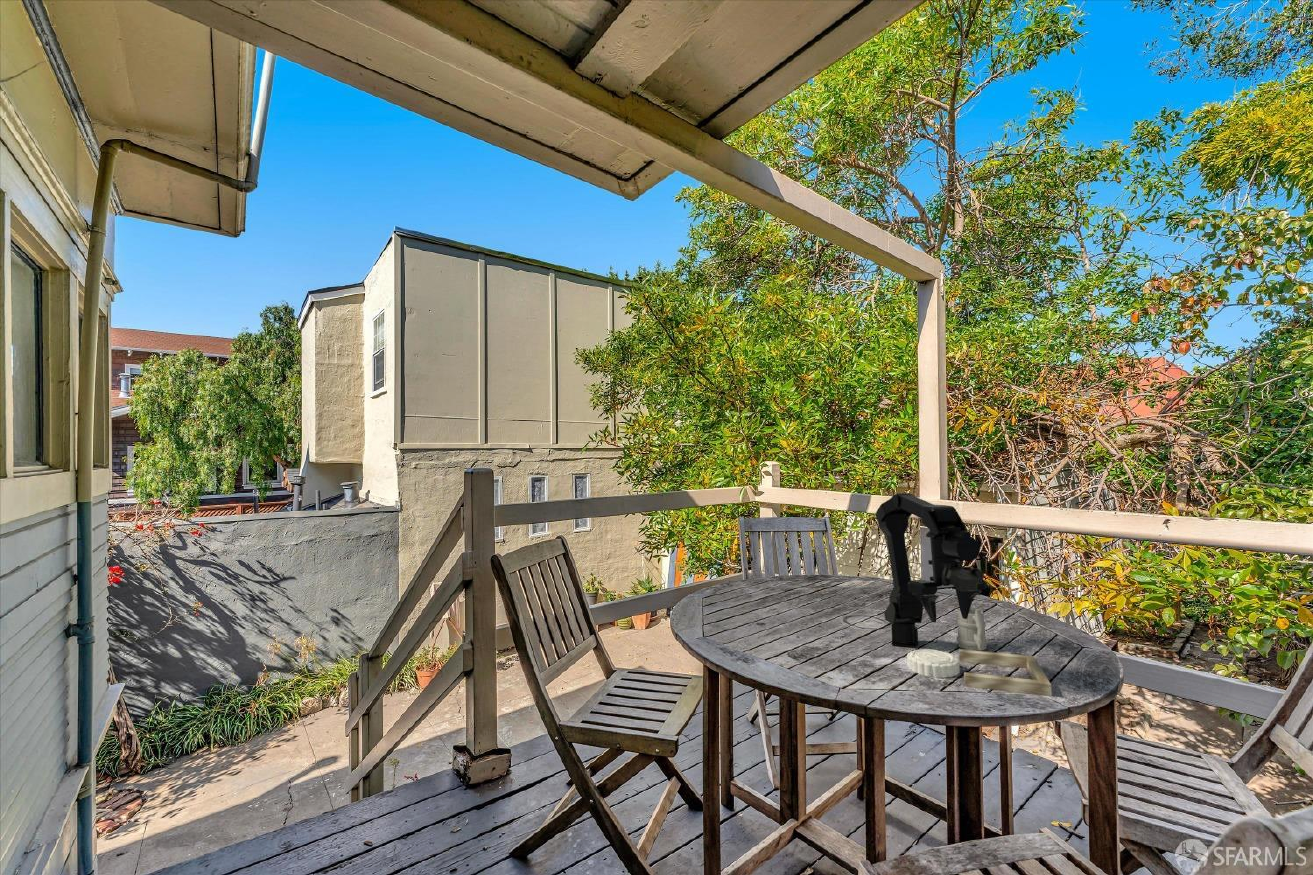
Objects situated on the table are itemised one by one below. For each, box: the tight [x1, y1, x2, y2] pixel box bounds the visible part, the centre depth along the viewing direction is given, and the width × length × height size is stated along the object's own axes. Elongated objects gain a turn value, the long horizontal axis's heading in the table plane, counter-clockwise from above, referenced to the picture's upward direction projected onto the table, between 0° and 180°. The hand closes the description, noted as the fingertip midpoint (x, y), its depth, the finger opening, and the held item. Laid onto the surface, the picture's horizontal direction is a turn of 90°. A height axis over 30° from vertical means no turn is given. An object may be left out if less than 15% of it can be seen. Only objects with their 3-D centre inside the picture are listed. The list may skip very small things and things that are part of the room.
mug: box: [956, 608, 989, 651], centre depth 159 cm, size 8×12×12 cm, turn 171°
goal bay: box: [958, 648, 1052, 697], centre depth 140 cm, size 17×19×2 cm
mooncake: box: [906, 648, 961, 679], centre depth 146 cm, size 12×12×4 cm
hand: (949, 620), depth 143 cm, fingers open, 9 cm apart
